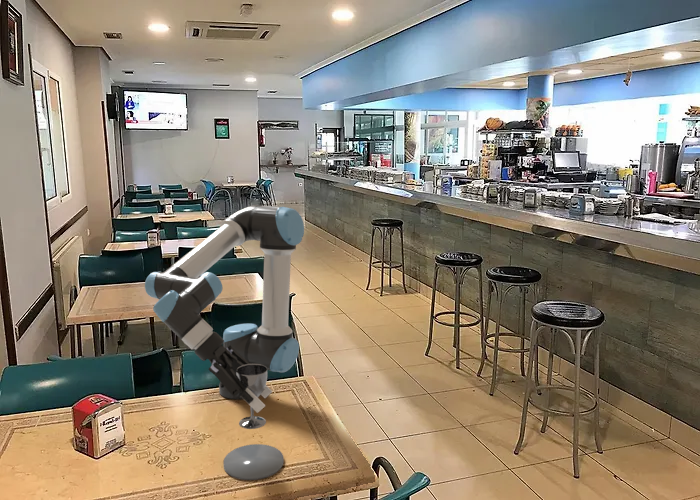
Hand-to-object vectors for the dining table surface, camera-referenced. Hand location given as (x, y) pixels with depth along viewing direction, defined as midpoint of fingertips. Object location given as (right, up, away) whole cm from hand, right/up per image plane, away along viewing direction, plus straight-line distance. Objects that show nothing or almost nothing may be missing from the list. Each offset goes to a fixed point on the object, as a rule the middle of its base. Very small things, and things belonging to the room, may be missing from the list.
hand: (265, 401), depth 153 cm
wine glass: (-4, -6, +1) cm, 7 cm away
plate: (-4, -18, +4) cm, 18 cm away
